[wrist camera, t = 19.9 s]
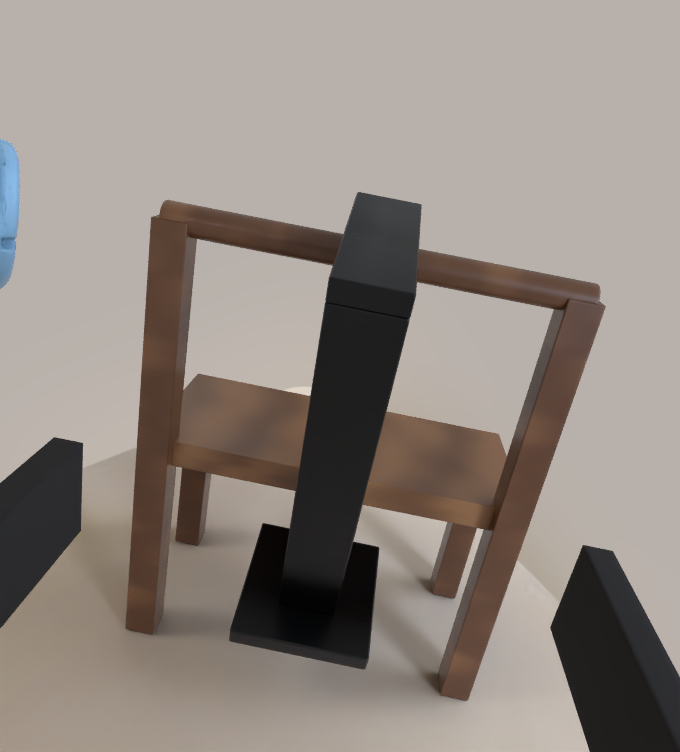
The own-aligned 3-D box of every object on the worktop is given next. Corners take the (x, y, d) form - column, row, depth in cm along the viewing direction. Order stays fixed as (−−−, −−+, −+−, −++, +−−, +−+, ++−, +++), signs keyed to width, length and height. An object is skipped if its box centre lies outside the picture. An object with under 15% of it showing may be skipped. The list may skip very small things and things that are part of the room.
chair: (125, 629, 34) (151, 199, 26) (182, 527, 43) (216, 185, 35) (467, 701, 34) (612, 289, 25) (452, 583, 43) (555, 251, 34)
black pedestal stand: (365, 670, 30) (478, 337, 19) (228, 641, 30) (256, 292, 19) (381, 507, 39) (465, 212, 28) (276, 485, 39) (314, 182, 28)
